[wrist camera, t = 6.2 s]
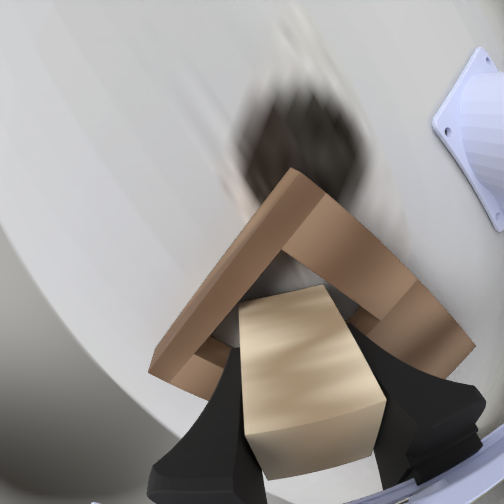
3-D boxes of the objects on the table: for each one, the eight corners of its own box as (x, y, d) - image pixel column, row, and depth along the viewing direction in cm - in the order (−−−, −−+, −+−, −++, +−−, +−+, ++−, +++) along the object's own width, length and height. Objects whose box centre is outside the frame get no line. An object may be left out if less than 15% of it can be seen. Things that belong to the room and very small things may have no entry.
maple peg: (323, 284, 13) (386, 400, 6) (327, 347, 14) (370, 455, 8) (238, 302, 13) (244, 434, 6) (255, 363, 14) (267, 480, 8)
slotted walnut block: (462, 331, 17) (476, 346, 15) (355, 428, 20) (362, 445, 18) (290, 167, 12) (300, 172, 10) (155, 348, 15) (147, 372, 13)
